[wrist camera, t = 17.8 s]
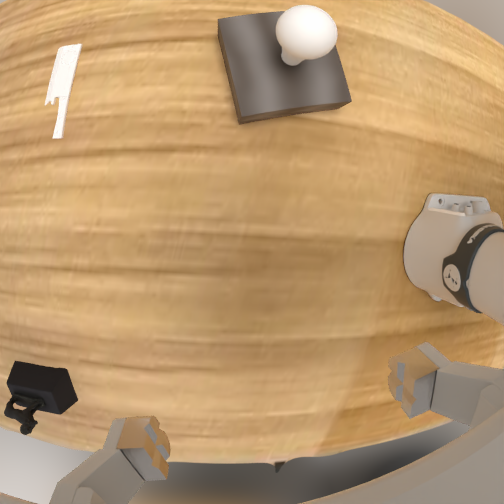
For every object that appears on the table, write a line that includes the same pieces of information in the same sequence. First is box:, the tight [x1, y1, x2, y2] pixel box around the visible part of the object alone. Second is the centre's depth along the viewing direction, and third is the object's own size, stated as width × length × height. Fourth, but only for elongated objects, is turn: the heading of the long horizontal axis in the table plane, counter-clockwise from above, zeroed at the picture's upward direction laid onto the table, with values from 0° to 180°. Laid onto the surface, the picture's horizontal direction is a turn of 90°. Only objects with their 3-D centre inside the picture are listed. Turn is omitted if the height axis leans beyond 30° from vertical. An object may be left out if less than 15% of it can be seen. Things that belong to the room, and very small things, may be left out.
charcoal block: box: [218, 11, 352, 124], centre depth 34 cm, size 14×14×5 cm
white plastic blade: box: [45, 44, 83, 139], centre depth 33 cm, size 5×15×1 cm, turn 172°
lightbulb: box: [276, 5, 337, 66], centre depth 27 cm, size 6×6×11 cm
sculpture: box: [4, 361, 78, 435], centre depth 37 cm, size 8×13×15 cm, turn 88°
